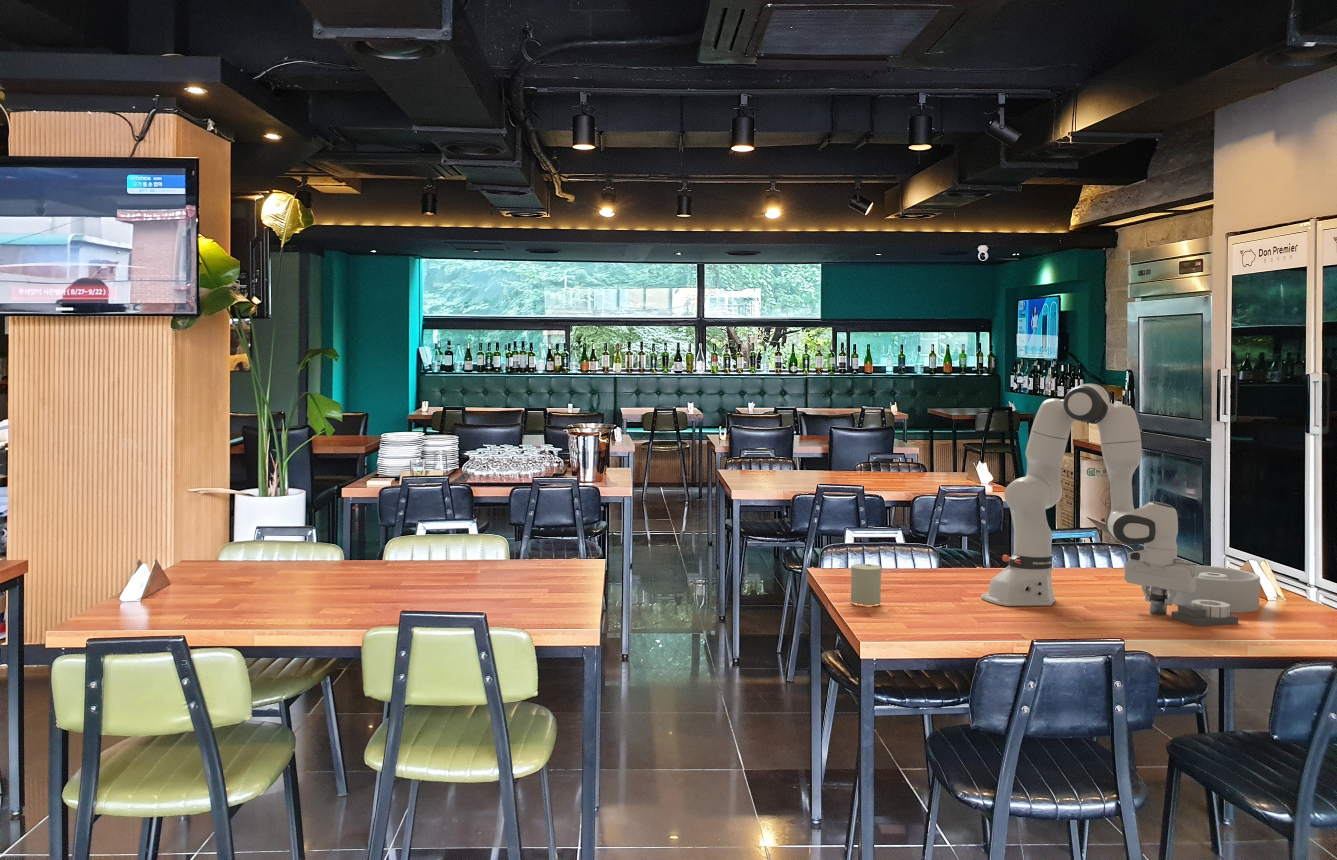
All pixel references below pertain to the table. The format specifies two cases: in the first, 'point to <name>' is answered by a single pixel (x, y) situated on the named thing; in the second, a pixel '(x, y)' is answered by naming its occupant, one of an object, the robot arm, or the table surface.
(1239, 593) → the container
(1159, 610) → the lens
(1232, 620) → the stepped dark base plate
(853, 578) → the can
